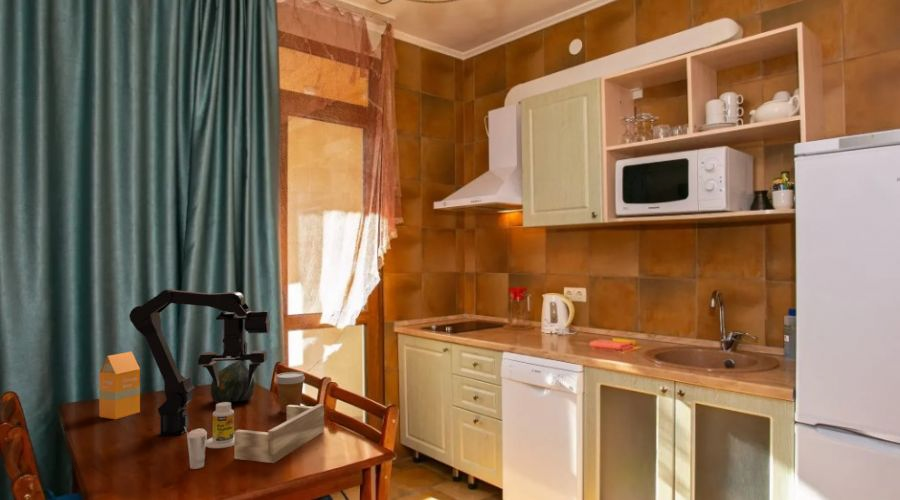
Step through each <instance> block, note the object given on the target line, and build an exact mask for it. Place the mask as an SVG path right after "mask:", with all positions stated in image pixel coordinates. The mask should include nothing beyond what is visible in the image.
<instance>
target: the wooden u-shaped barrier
mask: <svg viewBox="0 0 900 500" xmlns="http://www.w3.org/2000/svg"><path fill="white" fill-rule="evenodd" d="M267 431H268V432H266V431H256V430H247V429H237V430H234V446H233V447H234V448H233V449H234V460H242V461H243V460H244V461H251V462H261V463H268V464H275V463H277V462H278V461H279V460H281V459H283V458H284V457H286V456H287V455H289V454H290V453H292V452H294V451H296V450H297V449H298V448H300V447H301V446H304V445H305V444H306V443H307V442H309V441H311V440H312V439H314V438H316V437H318V436H319V435H320V434H322V433H323V432H325V404H324V403H323V404H322V403H318V404H316V405H315V406H307V405H300V406H298V405H288V406H287V413H286V421H284V422H282V423H280V424H279V425H277V426H275V427H273V428H271V429H269V430H267Z"/></svg>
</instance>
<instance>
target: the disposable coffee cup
mask: <svg viewBox="0 0 900 500" xmlns="http://www.w3.org/2000/svg"><path fill="white" fill-rule="evenodd" d="M305 378H306V377H305V374H304V373H303V372H301V371H300V372H299V371H289V372H282V373H279V374H276V378H275V381H276V386H277V395H278V402H279V406H280V408H279V410H280V412H281V413H284V414H287V406H288V405H298V406H302V405H301V404H302V396H303V389H304V388H303V387H304V381H305Z"/></svg>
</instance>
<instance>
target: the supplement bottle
mask: <svg viewBox="0 0 900 500" xmlns="http://www.w3.org/2000/svg"><path fill="white" fill-rule="evenodd" d="M234 431H235V411H234V410H233V409H232V402H230V403H229V402H222V403H216V404H215V410H214V411H213V412H212V437H213V441H214V442H216V443H225V442H229V441H231V440H232V439H233V438H234Z"/></svg>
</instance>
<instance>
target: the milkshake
mask: <svg viewBox="0 0 900 500" xmlns="http://www.w3.org/2000/svg"><path fill="white" fill-rule="evenodd" d="M184 428H185V427H184ZM185 430H186V428H185ZM187 430H188V429H187ZM187 430H186V431H185V432H186V438H187V439H186V440H187V447H188V460H189V467H190V469H192V470H193V469H194V470H198V469H201V468H203V467H205V459H206V448H207V447H206V440H208V439H207V438H208V432H207V430H205V429H204V428H199V427H198V428H196V429H191V430H190V431H189V432H188V431H187Z"/></svg>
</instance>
